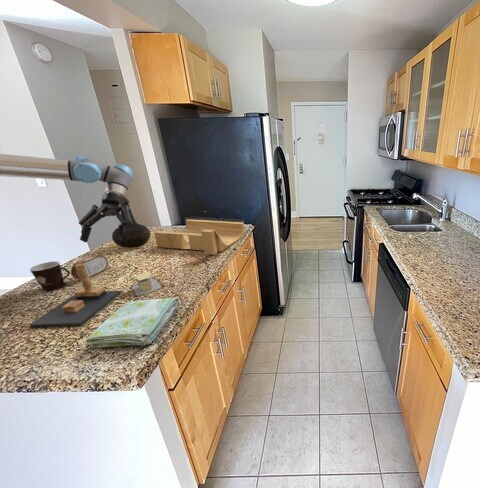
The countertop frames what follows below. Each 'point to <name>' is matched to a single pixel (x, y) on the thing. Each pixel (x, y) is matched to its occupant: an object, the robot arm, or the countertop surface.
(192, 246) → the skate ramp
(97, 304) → the serving tray
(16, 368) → the countertop surface
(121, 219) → the robot arm
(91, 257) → the tin
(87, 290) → the scrub brush
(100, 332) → the towel
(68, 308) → the wooden square block
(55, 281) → the coffee mug
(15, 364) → the countertop surface
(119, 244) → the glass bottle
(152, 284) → the stacked layers on plate
